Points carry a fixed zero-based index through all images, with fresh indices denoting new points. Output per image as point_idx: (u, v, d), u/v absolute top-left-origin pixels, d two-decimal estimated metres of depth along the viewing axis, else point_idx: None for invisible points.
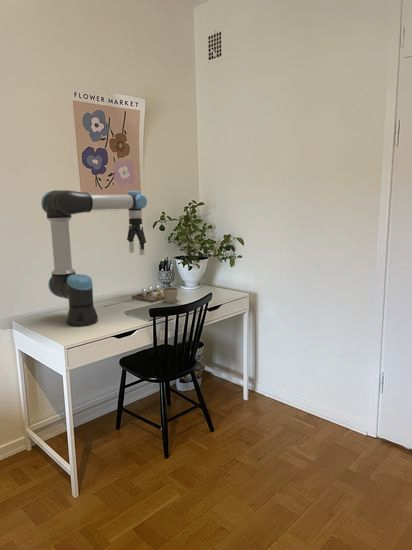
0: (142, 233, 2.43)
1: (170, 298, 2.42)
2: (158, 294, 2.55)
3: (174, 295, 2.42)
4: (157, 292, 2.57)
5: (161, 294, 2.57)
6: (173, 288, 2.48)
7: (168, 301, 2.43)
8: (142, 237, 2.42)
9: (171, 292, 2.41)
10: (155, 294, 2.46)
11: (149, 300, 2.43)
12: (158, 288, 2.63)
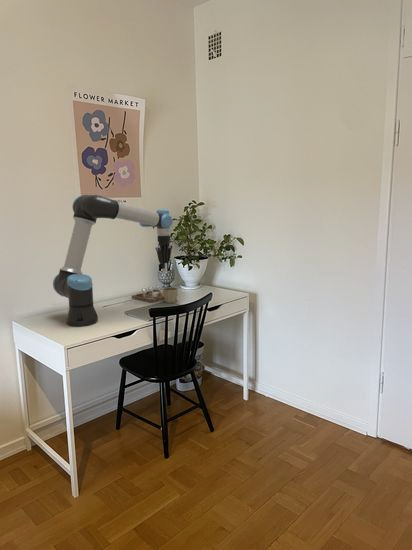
0: (159, 254, 2.53)
1: (170, 298, 2.42)
2: (158, 294, 2.55)
3: (174, 295, 2.42)
4: (157, 292, 2.57)
5: (161, 294, 2.57)
6: (173, 288, 2.48)
7: (168, 301, 2.43)
8: (159, 257, 2.55)
9: (171, 292, 2.41)
10: (155, 294, 2.46)
11: (149, 300, 2.43)
12: (158, 288, 2.63)
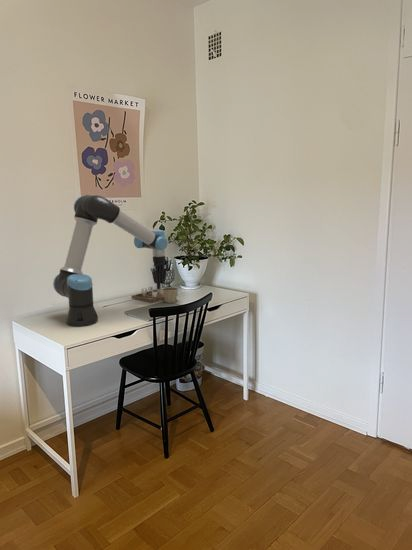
0: (154, 275, 2.52)
1: (170, 298, 2.42)
2: (157, 294, 2.54)
3: (174, 295, 2.42)
4: None
5: (160, 294, 2.56)
6: (173, 288, 2.48)
7: (168, 301, 2.43)
8: (154, 278, 2.54)
9: (171, 292, 2.41)
10: (155, 294, 2.46)
11: (149, 300, 2.43)
12: None
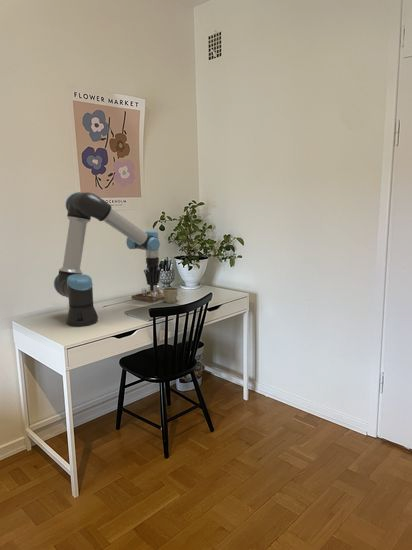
0: (147, 276, 2.48)
1: (170, 298, 2.42)
2: None
3: (174, 295, 2.42)
4: (150, 294, 2.52)
5: None
6: (173, 288, 2.48)
7: (168, 301, 2.43)
8: (147, 280, 2.49)
9: (171, 292, 2.41)
10: (155, 294, 2.46)
11: (149, 300, 2.43)
12: (158, 288, 2.63)
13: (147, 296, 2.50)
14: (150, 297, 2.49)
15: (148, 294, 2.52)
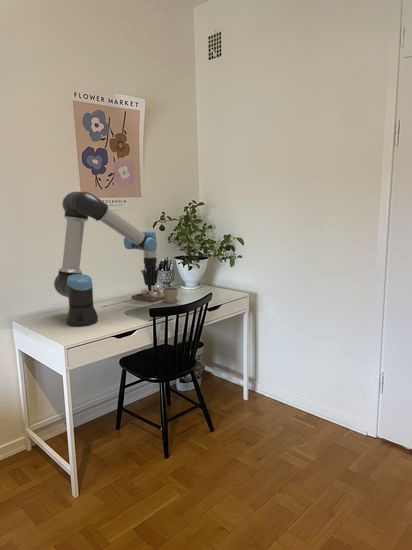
0: (145, 276, 2.46)
1: (170, 298, 2.42)
2: (150, 297, 2.48)
3: (174, 295, 2.42)
4: (147, 295, 2.50)
5: None
6: (173, 288, 2.48)
7: (168, 301, 2.43)
8: (145, 280, 2.48)
9: (171, 292, 2.41)
10: (155, 294, 2.46)
11: (149, 300, 2.43)
12: (158, 288, 2.63)
13: (145, 297, 2.49)
14: (148, 298, 2.48)
15: (146, 295, 2.51)
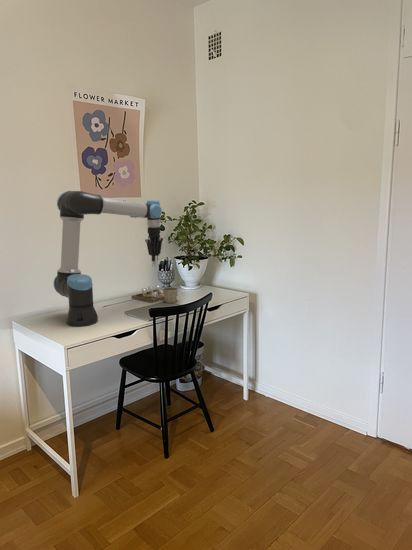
0: (148, 246, 2.46)
1: (170, 298, 2.42)
2: (150, 297, 2.48)
3: (174, 295, 2.42)
4: (147, 295, 2.50)
5: None
6: (173, 288, 2.48)
7: (168, 301, 2.43)
8: (148, 250, 2.47)
9: (171, 292, 2.41)
10: (155, 294, 2.46)
11: (149, 300, 2.43)
12: (158, 288, 2.63)
13: (145, 297, 2.49)
14: (148, 298, 2.48)
15: (146, 295, 2.51)
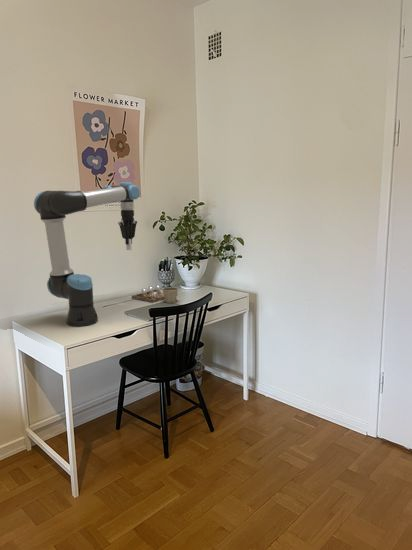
0: (122, 229, 2.43)
1: (170, 298, 2.42)
2: (150, 297, 2.48)
3: (174, 295, 2.42)
4: (147, 295, 2.50)
5: None
6: (173, 288, 2.48)
7: (168, 301, 2.43)
8: (122, 233, 2.44)
9: (171, 292, 2.41)
10: (155, 294, 2.46)
11: (149, 300, 2.43)
12: (158, 288, 2.63)
13: (145, 297, 2.49)
14: (148, 298, 2.48)
15: (146, 295, 2.51)
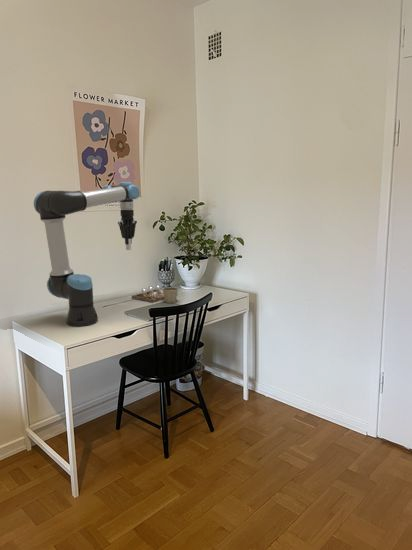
0: (121, 229, 2.43)
1: (170, 298, 2.42)
2: (150, 297, 2.48)
3: (174, 295, 2.42)
4: (147, 295, 2.50)
5: None
6: (173, 288, 2.48)
7: (168, 301, 2.43)
8: (121, 233, 2.44)
9: (171, 292, 2.41)
10: (155, 294, 2.46)
11: (149, 300, 2.43)
12: (158, 288, 2.63)
13: (145, 297, 2.49)
14: (148, 298, 2.48)
15: (146, 295, 2.51)
